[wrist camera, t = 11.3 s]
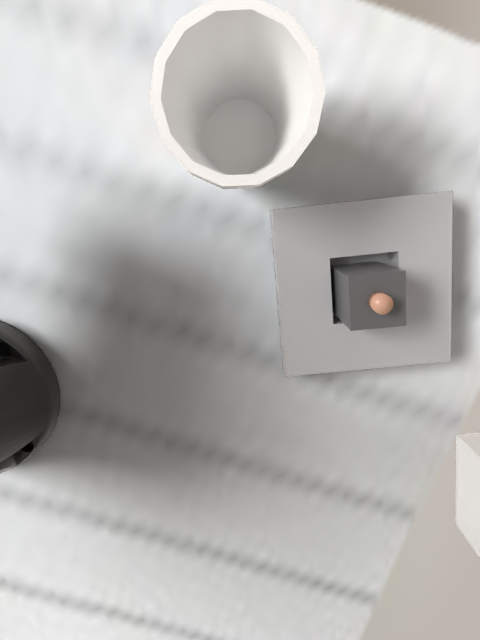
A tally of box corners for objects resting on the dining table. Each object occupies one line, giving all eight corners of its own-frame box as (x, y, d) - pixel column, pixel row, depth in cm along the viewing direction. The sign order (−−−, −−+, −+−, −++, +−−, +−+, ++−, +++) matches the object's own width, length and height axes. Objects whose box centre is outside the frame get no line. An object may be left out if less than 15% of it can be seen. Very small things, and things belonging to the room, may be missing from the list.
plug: (331, 310, 38) (355, 335, 30) (329, 265, 37) (352, 278, 29) (377, 306, 38) (412, 329, 30) (375, 261, 37) (412, 272, 29)
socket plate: (282, 363, 40) (286, 376, 37) (269, 210, 37) (272, 209, 33) (433, 349, 40) (450, 361, 36) (433, 193, 36) (452, 190, 33)
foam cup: (306, 181, 36) (340, 161, 24) (202, 210, 37) (180, 206, 24) (280, 62, 34) (301, -30, 22) (170, 95, 35) (127, 25, 22)
